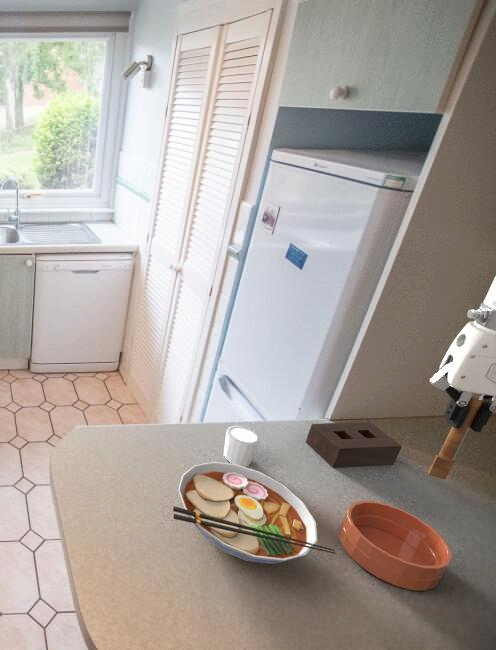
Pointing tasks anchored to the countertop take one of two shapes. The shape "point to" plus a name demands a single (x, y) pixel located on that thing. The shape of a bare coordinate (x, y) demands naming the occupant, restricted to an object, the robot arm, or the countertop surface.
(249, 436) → the white short cylinder
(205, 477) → the ramen bowl
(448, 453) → the stick
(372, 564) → the baking dish
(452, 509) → the countertop surface
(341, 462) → the holder
